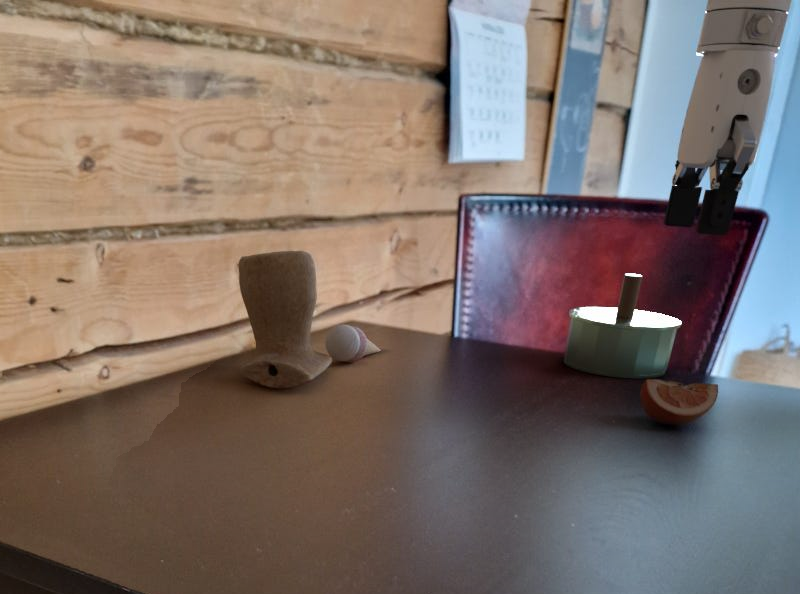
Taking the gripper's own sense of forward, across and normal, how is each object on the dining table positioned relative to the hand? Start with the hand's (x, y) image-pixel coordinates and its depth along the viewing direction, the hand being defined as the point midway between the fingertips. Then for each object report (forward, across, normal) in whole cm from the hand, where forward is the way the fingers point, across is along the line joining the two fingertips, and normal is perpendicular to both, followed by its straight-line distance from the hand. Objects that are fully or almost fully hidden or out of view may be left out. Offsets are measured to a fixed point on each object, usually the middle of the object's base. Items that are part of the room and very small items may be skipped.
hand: (693, 229), depth 92 cm
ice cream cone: (+20, +22, +35) cm, 46 cm away
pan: (+20, +26, -3) cm, 33 cm away
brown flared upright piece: (+20, +9, +45) cm, 50 cm away
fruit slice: (+20, -4, -1) cm, 21 cm away
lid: (+14, +26, -3) cm, 30 cm away
